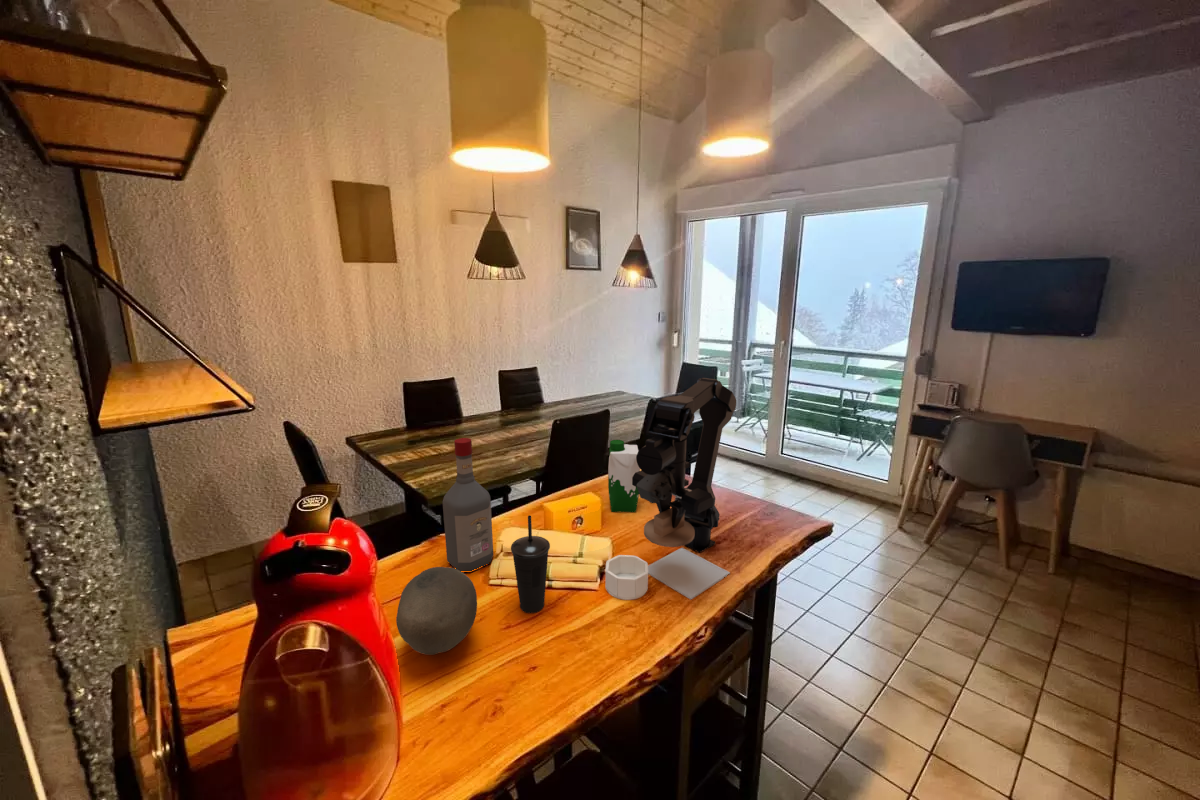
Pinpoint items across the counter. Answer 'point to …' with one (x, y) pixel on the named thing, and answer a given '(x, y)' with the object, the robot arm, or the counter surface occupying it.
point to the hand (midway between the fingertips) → (669, 524)
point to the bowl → (626, 577)
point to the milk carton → (622, 476)
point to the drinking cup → (531, 570)
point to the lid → (668, 530)
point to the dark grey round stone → (436, 610)
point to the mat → (686, 572)
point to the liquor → (467, 515)
